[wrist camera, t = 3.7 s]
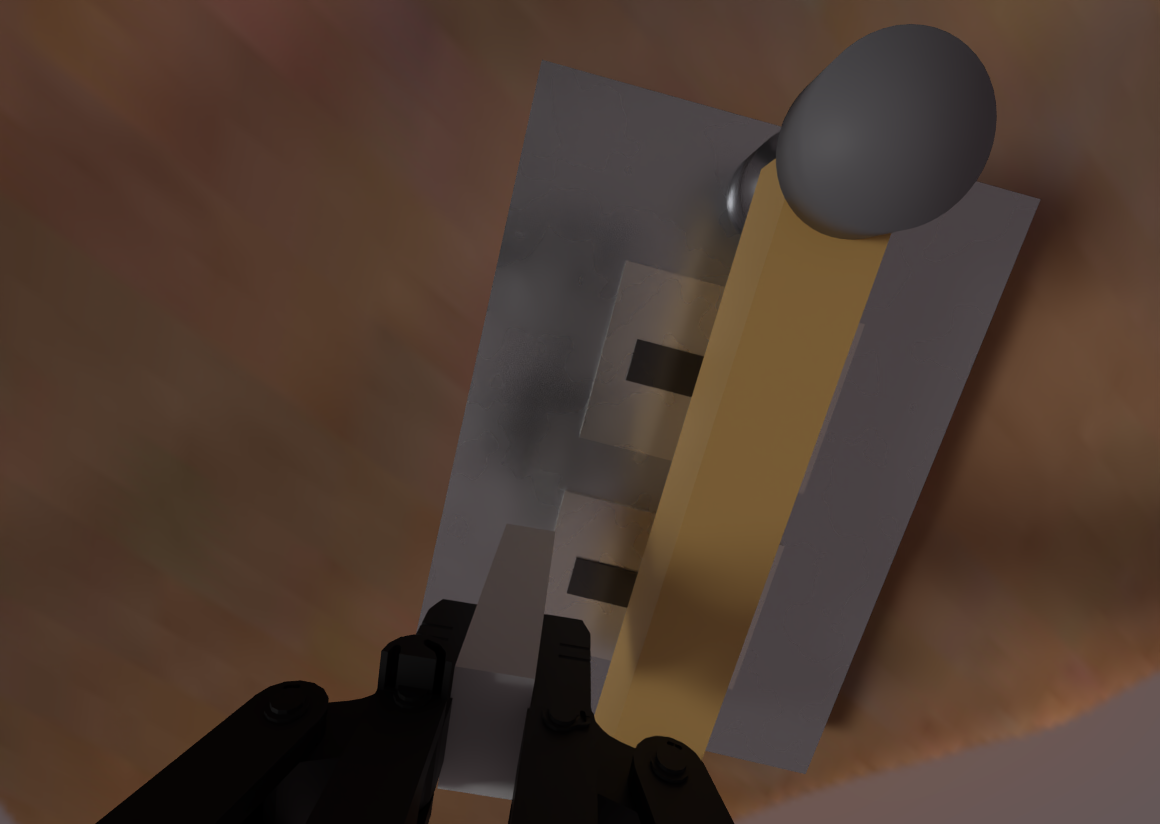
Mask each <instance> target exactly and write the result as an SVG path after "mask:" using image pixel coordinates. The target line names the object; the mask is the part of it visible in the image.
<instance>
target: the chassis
mask: <svg viewBox="0 0 1160 824" xmlns="http://www.w3.org/2000/svg"><path fill="white" fill-rule="evenodd" d="M780 129H781V127H780V126H777V125H773V124H770V123H766V122H762V121H759V120H755V119H752V118H748V117H744V116H741V115H737V114H734V113H730V112H727V111H723V110H719V109H716V108H712V107H709V106H705V105H702V104H698V103H694V102H691V101H687V100H684V99H680V98H677V97H673V96H669V95H666V94H662V93H659V92H655V91H652V90H648V89H644V88H641V87H637V86H634V85H630V84H627V83H623V82H619V81H616V80H612V79H609V78H605V77H601V76H598V75H594V74H591V73H587V72H584V71H580V70H576V69H573V68H569V67H566V66H562V65H559V64H555V63H551V62H548V61H544V60H542V62H541V67H540V71H539V76H538V80H537V85H536V89H535V94H534V99H533V103H532V108H531V112H530V117H529V121H528V126H527V131H526V135H525V140H524V144H523V149H522V153H521V158H520V162H519V167H518V172H517V176H516V181H515V185H514V190H513V194H512V199H511V204H510V208H509V213H508V217H507V222H506V226H505V231H504V236H503V240H502V245H501V249H500V254H499V258H498V263H497V268H496V272H495V277H494V281H493V286H492V290H491V295H490V299H489V304H488V309H487V313H486V318H485V322H484V327H483V331H482V336H481V341H480V345H479V350H478V354H477V359H476V363H475V368H474V373H473V377H472V382H471V386H470V391H469V395H468V400H467V404H466V409H465V414H464V418H463V423H462V427H461V432H460V436H459V441H458V446H457V450H456V455H455V459H454V464H453V468H452V473H451V478H450V482H449V487H448V491H447V496H446V500H445V505H444V509H443V514H442V519H441V523H440V528H439V532H438V537H437V541H436V546H435V551H434V555H433V560H432V564H431V569H430V573H429V578H428V583H427V587H426V592H425V596H424V601H423V605H422V610H421V615H420V619H419V624H418V628H417V631H418V629H419V627H420V625H422V621H423V619H424V617H425V615H426V614H427V612H428V610H429V609H430V608H431V607H432V606H434V605H435V604H436V603H438V602H439V601H441V600H442V599H447V600H453V601H459V602H466V603H472V604H478V601H479V598H480V595H481V593H482V590H483V587H484V584H485V582H486V579H487V576H488V573H489V571H490V568H491V565H492V562H493V559H494V557H495V554H496V551H497V548H498V546H499V543H500V540H501V537H502V535H503V532H504V529H505V526H506V524H513V525H519V526H525V527H531V528H537V529H543V530H549V531H555V538H554V546H553V553H552V560H551V567H550V574H549V582H548V589H547V596H546V603H545V610H544V614H548V615H555V616H561V617H567V618H573V619H579V620H583V622H584V624H585V625H586V627H587V629H588V630H589V632H590V637H591V649H590V651H591V661H590V663H591V709H592V712H593V713H594V715H595V712H596V709H597V705H598V702H599V699H600V696H601V692H602V689H603V686H604V682H605V679H606V676H607V673H608V669H609V666H610V663H611V660H612V656H613V653H614V650H615V646H616V643H617V640H618V637H619V633H620V630H621V627H622V624H623V620H624V617H625V614H626V610H627V607H628V604H629V601H630V597H631V594H632V591H633V588H634V584H635V581H636V578H637V574H638V571H639V568H640V565H641V561H642V558H643V555H644V551H645V548H646V545H647V542H648V538H649V535H650V532H651V529H652V525H653V522H654V519H655V515H656V512H657V509H658V506H659V502H660V499H661V496H662V493H663V489H664V486H665V483H666V479H667V476H668V473H669V470H670V466H671V463H672V460H673V457H674V453H675V450H676V447H677V443H678V440H679V437H680V434H681V430H682V427H683V424H684V421H685V417H686V414H687V411H688V407H689V404H690V401H691V398H692V394H693V391H694V388H695V385H696V381H697V378H698V375H699V371H700V368H701V365H702V362H703V358H704V355H705V352H706V349H707V345H708V342H709V339H710V335H711V332H712V329H713V326H714V322H715V319H716V316H717V313H718V309H719V306H720V303H721V299H722V296H723V293H724V290H725V286H726V283H727V280H728V277H729V273H730V270H731V267H732V263H733V260H734V257H735V254H736V250H737V247H738V244H739V241H740V237H741V234H742V231H743V227H744V224H745V221H746V218H747V214H748V211H749V208H750V204H751V201H752V198H753V195H754V191H755V188H756V185H757V182H758V178H759V175H760V172H761V169H762V168H763V167H765V166H766V165H767V164H769V163H770V162H771V161H773V160H774V159H776V149H777V141H778V137H779V133H780ZM1040 200H1041V199H1038V198H1034V197H1030V196H1027V195H1023V194H1020V193H1016V192H1013V191H1009V190H1005V189H1002V188H998V187H995V186H991V185H988V184H984V183H980V182H977V181H976V182H975V183H974V185H973V186H972V187H971V189H970V190H969V191H968V193H967V194H966V195H965V196H964V197H963V198H962V199H961V200H960V201H959V202H958V203H957V204H956V205H954V206H953V207H952V208H951V209H950V210H948V211H947V212H946V213H944V214H942V215H941V216H939V217H938V218H936V219H934V220H932V221H930V222H928V223H926V224H924V225H921V226H918V227H915V228H911V229H907V230H902V231H897V232H893V233H891V236H890V239H889V241H888V244H887V247H886V250H885V253H884V255H883V258H882V261H881V264H880V266H879V269H878V272H877V275H876V278H875V280H874V283H873V286H872V289H871V291H870V294H869V297H868V300H867V303H866V305H865V308H864V311H863V314H862V316H861V319H860V322H859V325H858V328H857V330H856V333H855V336H854V339H853V341H852V344H851V347H850V350H849V353H848V355H847V358H846V361H845V364H844V366H843V369H842V372H841V375H840V378H839V380H838V383H837V386H836V389H835V391H834V394H833V397H832V400H831V403H830V405H829V408H828V411H827V414H826V416H825V419H824V422H823V425H822V428H821V430H820V433H819V436H818V439H817V441H816V444H815V447H814V450H813V453H812V455H811V458H810V461H809V464H808V466H807V469H806V472H805V475H804V478H803V480H802V483H801V486H800V489H799V491H798V494H797V497H796V500H795V503H794V505H793V508H792V511H791V514H790V516H789V519H788V522H787V525H786V528H785V530H784V533H783V536H782V539H781V541H780V544H779V547H778V550H777V553H776V555H775V558H774V561H773V564H772V566H771V569H770V572H769V575H768V578H767V580H766V583H765V586H764V589H763V591H762V594H761V597H760V600H759V603H758V605H757V608H756V611H755V614H754V616H753V619H752V622H751V625H750V628H749V630H748V633H747V636H746V639H745V641H744V644H743V647H742V650H741V653H740V655H739V658H738V661H737V664H736V666H735V669H734V672H733V675H732V678H731V680H730V683H729V686H728V689H727V691H726V694H725V697H724V700H723V703H722V705H721V708H720V711H719V714H718V716H717V719H716V722H715V725H714V728H713V730H712V733H711V736H710V739H709V741H708V744H707V747H706V750H705V751H709V752H713V753H718V754H722V755H726V756H731V757H735V758H739V759H743V760H748V761H752V762H756V763H761V764H765V765H769V766H773V767H778V768H782V769H786V770H791V771H795V772H799V773H803V774H806V772H807V769H808V767H809V764H810V762H811V759H812V757H813V754H814V752H815V750H816V747H817V745H818V742H819V740H820V737H821V735H822V732H823V730H824V728H825V725H826V723H827V720H828V718H829V715H830V713H831V710H832V708H833V706H834V703H835V701H836V698H837V696H838V693H839V691H840V688H841V686H842V684H843V681H844V679H845V676H846V674H847V671H848V669H849V666H850V664H851V662H852V659H853V657H854V654H855V652H856V649H857V647H858V644H859V642H860V640H861V637H862V635H863V632H864V630H865V627H866V625H867V622H868V620H869V618H870V615H871V613H872V610H873V608H874V605H875V603H876V600H877V598H878V596H879V593H880V591H881V588H882V586H883V583H884V581H885V578H886V576H887V574H888V571H889V569H890V566H891V564H892V561H893V559H894V556H895V554H896V552H897V549H898V547H899V544H900V542H901V539H902V537H903V534H904V532H905V530H906V527H907V525H908V522H909V520H910V517H911V515H912V512H913V510H914V508H915V505H916V503H917V500H918V498H919V495H920V493H921V490H922V488H923V486H924V483H925V481H926V478H927V476H928V473H929V471H930V468H931V466H932V464H933V461H934V459H935V456H936V454H937V451H938V449H939V446H940V444H941V442H942V439H943V437H944V434H945V432H946V429H947V427H948V424H949V422H950V420H951V417H952V415H953V412H954V410H955V407H956V405H957V402H958V400H959V398H960V395H961V393H962V390H963V388H964V385H965V383H966V380H967V378H968V376H969V373H970V371H971V368H972V366H973V363H974V361H975V358H976V356H977V354H978V351H979V349H980V346H981V344H982V341H983V339H984V336H985V334H986V332H987V329H988V327H989V324H990V322H991V319H992V317H993V314H994V312H995V310H996V307H997V305H998V302H999V300H1000V297H1001V295H1002V292H1003V290H1004V288H1005V285H1006V283H1007V280H1008V278H1009V275H1010V273H1011V270H1012V268H1013V266H1014V263H1015V261H1016V258H1017V256H1018V253H1019V251H1020V248H1021V246H1022V244H1023V241H1024V239H1025V236H1026V234H1027V231H1028V229H1029V226H1030V224H1031V222H1032V219H1033V217H1034V214H1035V212H1036V209H1037V207H1038V204H1039V202H1040Z"/></svg>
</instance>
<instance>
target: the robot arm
mask: <svg viewBox="0 0 1160 824" xmlns="http://www.w3.org/2000/svg"><path fill="white" fill-rule="evenodd" d="M554 538H555V531H549V530H543V529H537V528H531V527H525V526H519V525H513V524H506V526H505V529H504V532H503V535H502V537H501V540H500V543H499V546H498V548H497V551H496V554H495V557H494V559H493V562H492V565H491V568H490V571H489V573H488V576H487V579H486V582H485V584H484V587H483V590H482V593H481V595H480V598H479V601H478V604H472V603H466V602H459V601H453V600H447V599H442V600H441V601H439V602H438V603H436V604H435V605H434V606H432V607H431V608H430V609H429V610H428V612H427V614H426V615H425V617H424V619H423V621H422V625H420V627H419V629H418V631H417V633H416V635H409V636H404V637H400V638H398V639H396V640H394V641H392V642H390V643H388V645H387V646H386V647H385V648H384V649H383V650H382V651H381V660H380V669H379V678H378V688H377V691H376V693H375V694H373V695H371V696H368V697H365V698H362V699H357V700H351V701H341V702H330V703H328V699H329V698H328V696H327V694H326V692H325V690H324V689H323V688H321V687H320V686H318V685H317V684H315V683H311V682H306V681H301V680H300V681H288V682H283V683H279V684H276V685H273V686H270V687H268V688H266V689H265V690H263V691H261V692H260V693H258V694H256V695H255V696H254V697H253V698H251V699H250V700H249V701H248V702H246V703H245V704H244V705H243V706H241V707H240V708H239V709H238V710H236V711H235V712H234V713H233V714H231V715H230V716H229V717H228V718H226V719H225V720H224V721H223V722H221V723H220V724H219V725H218V726H217V727H215V728H214V729H213V730H212V731H210V732H209V733H208V734H207V735H205V736H204V737H203V738H202V739H200V740H199V741H198V742H197V743H195V744H194V745H193V746H192V747H190V748H189V749H188V750H187V751H185V752H184V753H183V754H182V755H180V756H179V757H178V758H177V759H175V760H174V761H173V762H172V763H170V764H169V765H168V766H167V767H165V768H164V769H163V770H162V771H160V772H159V773H158V774H157V775H155V776H154V777H153V778H152V779H151V780H149V781H148V782H147V783H146V784H144V785H143V786H142V787H141V788H139V789H138V790H137V791H136V792H134V793H133V794H132V795H131V796H129V797H128V798H127V799H126V800H124V801H123V802H122V803H121V804H119V805H118V806H117V807H116V808H114V809H113V810H112V811H111V812H109V813H108V814H107V815H106V816H104V817H103V818H102V819H101V820H99V821H98V822H97V823H96V824H428V823H429V819H430V816H431V810H432V803H433V796H434V791H435V788H436V784H437V781H438V778H439V782H438V788H439V789H446V790H452V791H459V792H465V793H472V794H478V795H484V796H491V797H497V798H504V799H510V800H512V804H511V809H510V815H509V821H508V824H734V822H733V820H732V818H731V816H730V814H729V812H728V810H727V808H726V806H725V805H724V803H723V801H722V799H721V797H720V795H719V793H718V791H717V789H716V787H715V785H714V783H713V781H712V779H711V777H710V775H709V773H708V771H707V769H706V767H705V765H704V763H703V762H702V761H701V759H700V758H699V757H698V755H697V754H696V753H695V752H694V751H693V750H692V749H691V748H689V747H688V746H687V745H685V744H684V743H682V742H680V741H678V740H675V739H673V738H671V737H665V736H652V737H648V738H645V739H643V740H642V741H641V742H640V743H638V744H637V746H636V748H634V747H631V746H629V745H627V744H625V743H622V742H620V741H618V740H617V739H615V738H613V737H611V736H610V735H608V734H607V733H606V732H605V731H604V730H602V728H601V727H600V726H599V725H598V724H597V722H596V720H595V717H594V713H593V712H592V709H591V663H590V661H591V651H590V649H591V637H590V632H589V630H588V629H587V627H586V625H585V624H584V622H583V620H579V619H573V618H567V617H561V616H555V615H548V614H544V610H545V603H546V596H547V589H548V582H549V574H550V567H551V560H552V553H553V546H554Z"/></svg>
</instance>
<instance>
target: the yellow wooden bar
mask: <svg viewBox="0 0 1160 824" xmlns="http://www.w3.org/2000/svg"><path fill="white" fill-rule="evenodd" d="M996 118H997V115H996V101H995V95H994V90H993V87H992V84H991V81H990V78H989V76H988V74H987V71H986V69H985V67H984V65H983V64H982V63H981V61H980V60H979V58H978V57H977V55H976V54H975V53H974V52H973V51H972V50H971V49H970V48H969V47H968V46H967V45H966V44H965V43H963V42H962V41H961V40H960V39H958V38H957V37H955V36H953V35H951V34H950V33H948V32H946V31H943V30H940V29H938V28H935V27H930V26H925V25H914V24H907V25H896V26H892V27H888V28H883V29H881V30H878V31H876V32H873V33H870V34H869V35H867V36H865V37H863V38H861V39H859V40H858V41H856V42H855V43H853V44H852V45H851V46H849V47H848V48H847V49H846V50H844V51H843V52H842V53H841V54H840V55H839V56H838V57H837V58H836V59H835V60H834V61H833V62H832V63H831V64H829V65H828V66H827V67H826V68H825V69H824V70H823V71H822V72H821V73H820V74H819V75H818V76H817V77H816V78H815V79H814V80H813V81H812V82H811V83H810V84H809V85H808V86H807V87H806V88H805V89H804V90H803V91H802V92H801V93H800V95H799V96H798V97H797V98H796V100H795V101H794V103H793V104H792V106H791V107H790V109H789V111H788V113H787V115H786V117H785V119H784V121H783V124H782V127H781V129H780V133H779V137H778V141H777V149H776V159H774V160H773V161H771V162H770V163H769V164H767V165H766V166H765V167H763V168H762V169H761V172H760V175H759V178H758V182H757V185H756V188H755V191H754V195H753V198H752V201H751V204H750V208H749V211H748V214H747V218H746V221H745V224H744V227H743V231H742V234H741V237H740V241H739V244H738V247H737V250H736V254H735V257H734V260H733V263H732V267H731V270H730V273H729V277H728V280H727V283H726V286H725V290H724V293H723V296H722V299H721V303H720V306H719V309H718V313H717V316H716V319H715V322H714V326H713V329H712V332H711V335H710V339H709V342H708V345H707V349H706V352H705V355H704V358H703V362H702V365H701V368H700V371H699V375H698V378H697V381H696V385H695V388H694V391H693V394H692V398H691V401H690V404H689V407H688V411H687V414H686V417H685V421H684V424H683V427H682V430H681V434H680V437H679V440H678V443H677V447H676V450H675V453H674V457H673V460H672V463H671V466H670V470H669V473H668V476H667V479H666V483H665V486H664V489H663V493H662V496H661V499H660V502H659V506H658V509H657V512H656V515H655V519H654V522H653V525H652V529H651V532H650V535H649V538H648V542H647V545H646V548H645V551H644V555H643V558H642V561H641V565H640V568H639V571H638V574H637V578H636V581H635V584H634V588H633V591H632V594H631V597H630V601H629V604H628V607H627V610H626V614H625V617H624V620H623V624H622V627H621V630H620V633H619V637H618V640H617V643H616V646H615V650H614V653H613V656H612V660H611V663H610V666H609V669H608V673H607V676H606V679H605V682H604V686H603V689H602V692H601V696H600V699H599V702H598V705H597V709H596V712H595V715H594V717H595V720H596V722H597V724H598V725H599V726H600V727H601V728H602V730H604V731H605V732H606V733H607V734H608V735H610V736H611V737H613V738H615V739H617V740H618V741H620V742H622V743H625V744H627V745H629V746H631V747H634V748H636V746H637V744H638V743H640V742H641V741H642V740H643V739H645V738H648V737H652V736H665V737H671V738H673V739H675V740H678V741H680V742H682V743H684V744H685V745H687V746H688V747H689V748H691V749H692V750H693V751H694V752H695V753H696V754H697V755H698V757H699V758H700V759H701V761H702V758H703V755H704V753H705V750H706V747H707V744H708V741H709V739H710V736H711V733H712V730H713V728H714V725H715V722H716V719H717V716H718V714H719V711H720V708H721V705H722V703H723V700H724V697H725V694H726V691H727V689H728V686H729V683H730V680H731V678H732V675H733V672H734V669H735V666H736V664H737V661H738V658H739V655H740V653H741V650H742V647H743V644H744V641H745V639H746V636H747V633H748V630H749V628H750V625H751V622H752V619H753V616H754V614H755V611H756V608H757V605H758V603H759V600H760V597H761V594H762V591H763V589H764V586H765V583H766V580H767V578H768V575H769V572H770V569H771V566H772V564H773V561H774V558H775V555H776V553H777V550H778V547H779V544H780V541H781V539H782V536H783V533H784V530H785V528H786V525H787V522H788V519H789V516H790V514H791V511H792V508H793V505H794V503H795V500H796V497H797V494H798V491H799V489H800V486H801V483H802V480H803V478H804V475H805V472H806V469H807V466H808V464H809V461H810V458H811V455H812V453H813V450H814V447H815V444H816V441H817V439H818V436H819V433H820V430H821V428H822V425H823V422H824V419H825V416H826V414H827V411H828V408H829V405H830V403H831V400H832V397H833V394H834V391H835V389H836V386H837V383H838V380H839V378H840V375H841V372H842V369H843V366H844V364H845V361H846V358H847V355H848V353H849V350H850V347H851V344H852V341H853V339H854V336H855V333H856V330H857V328H858V325H859V322H860V319H861V316H862V314H863V311H864V308H865V305H866V303H867V300H868V297H869V294H870V291H871V289H872V286H873V283H874V280H875V278H876V275H877V272H878V269H879V266H880V264H881V261H882V258H883V255H884V253H885V250H886V247H887V244H888V241H889V239H890V236H891V233H893V232H897V231H902V230H907V229H911V228H915V227H918V226H921V225H924V224H926V223H928V222H930V221H932V220H934V219H936V218H938V217H939V216H941V215H942V214H944V213H946V212H947V211H948V210H950V209H951V208H952V207H953V206H954V205H956V204H957V203H958V202H959V201H960V200H961V199H962V198H963V197H964V196H965V195H966V194H967V193H968V191H969V190H970V189H971V187H972V186H973V185H974V183H975V182H976V181H977V179H978V177H979V176H980V174H981V172H982V171H983V169H984V166H985V164H986V162H987V160H988V157H989V155H990V151H991V148H992V145H993V141H994V136H995V131H996Z"/></svg>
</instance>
